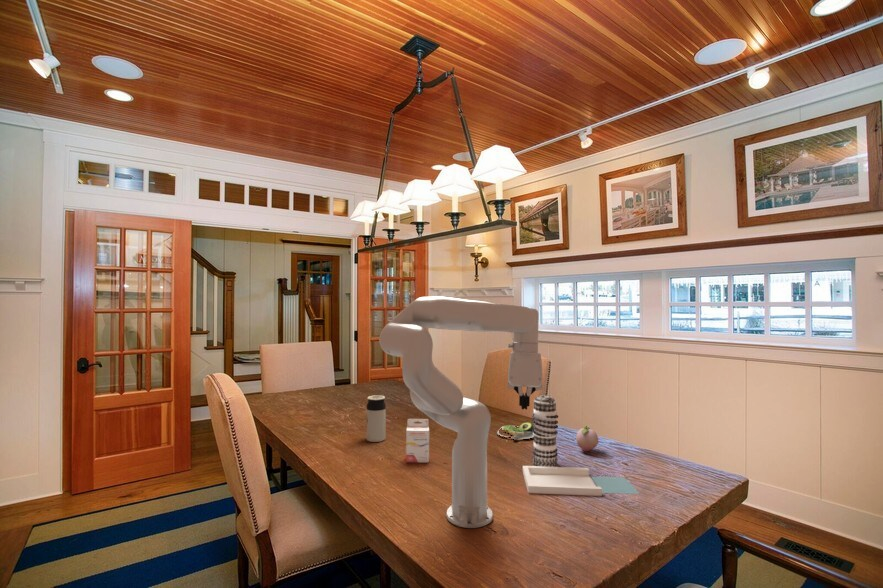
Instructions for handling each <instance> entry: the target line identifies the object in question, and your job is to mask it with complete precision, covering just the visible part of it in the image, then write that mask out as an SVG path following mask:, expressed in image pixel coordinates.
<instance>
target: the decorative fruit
mask: <svg viewBox="0 0 883 588" xmlns="http://www.w3.org/2000/svg"><path fill="white" fill-rule="evenodd" d="M575 436H576V437H575V440H576V443H577V446H578V447H579V448H580V449H581V450H582V451H584V452H590V451H592V450H593V449H595V448H596V447H597V446H598V444H599V437H598V434H597V432H596V431H595V430H593V429H592V428H590V427H588V426H587V425H585V427H583V428H582V427H581V428H580V429H578V431H577V433H576V435H575Z"/></svg>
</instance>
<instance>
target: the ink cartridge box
mask: <svg viewBox="0 0 883 588" xmlns="http://www.w3.org/2000/svg"><path fill="white" fill-rule="evenodd" d="M406 420H407V422H406V423H407V424H406V425H407V426H406V433H405V439H406V440H405V462H406V463H429V459H430V427H429V425H430V424H429V421H430V420H429V419H428V418H408V419H406ZM417 422H418V423H417Z"/></svg>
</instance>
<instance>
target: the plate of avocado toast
mask: <svg viewBox="0 0 883 588" xmlns="http://www.w3.org/2000/svg"><path fill="white" fill-rule="evenodd" d="M515 426H517V425H511V424H508V425H503V426H501V427H500V428H499V429H498V430H497V431H496V434H497V435H498V436H499V435H500V436H504V437H509V436H508V435H507V436H506V435H504V434H503V435H501V434H500V433H499V430H500V429H501V428H502V430H505V431H508V432H509V433H510V434H511V435H512V436H514V437H511V435H510V434H509V435H510V437H511V438H512V439H514V440H513V441H519V440H518V439H529V440H531V439H530V438H532V439H534V435H533V431H532V430H533V427H532V426H533V423H531V422H529V421H528V422H522V423H520V425H519V426H517V427H519V428H516V427H515ZM534 431H535V430H534ZM524 433H527V434H524ZM500 436H499V437H500Z"/></svg>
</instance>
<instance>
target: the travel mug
mask: <svg viewBox="0 0 883 588" xmlns="http://www.w3.org/2000/svg"><path fill="white" fill-rule="evenodd" d="M385 398H386V396H384V395H380V394H379V395H378V394H377V395H375V394H374V395H369V396H368V397H367V401H368V402H367V404H366V441H367V442H371V443H380V442H383V441H385V440H386V431H387V430H386V424H387V423H386V420H387V419H386V416H387V414H386V413H387V412H386V411H387V410H386V408H387V407H386V406H387V405H386V403H385Z"/></svg>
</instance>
